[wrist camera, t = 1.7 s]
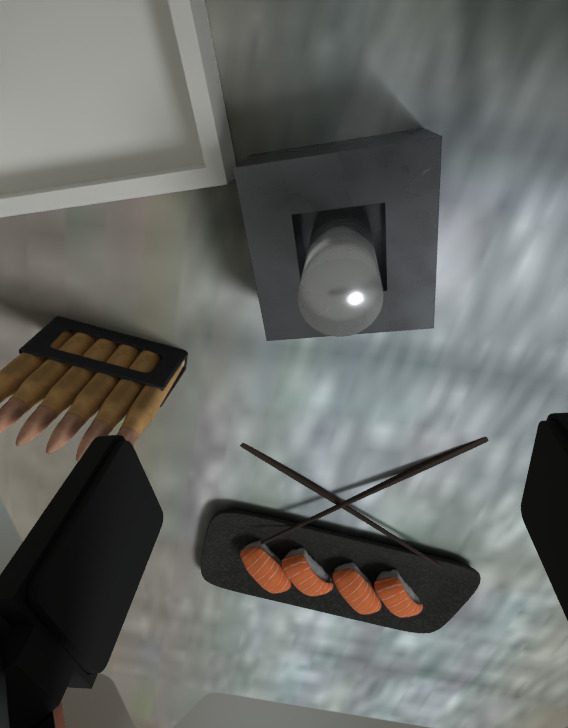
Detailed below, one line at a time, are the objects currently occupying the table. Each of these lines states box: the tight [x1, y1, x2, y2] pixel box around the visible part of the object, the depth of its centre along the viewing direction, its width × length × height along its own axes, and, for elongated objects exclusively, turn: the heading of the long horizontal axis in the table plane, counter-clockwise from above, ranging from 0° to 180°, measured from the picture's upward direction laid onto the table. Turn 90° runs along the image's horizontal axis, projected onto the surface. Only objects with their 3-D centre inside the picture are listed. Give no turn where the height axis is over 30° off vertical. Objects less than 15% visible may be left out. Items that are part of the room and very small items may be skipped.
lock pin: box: [298, 206, 383, 336], centre depth 22 cm, size 4×4×10 cm
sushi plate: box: [201, 437, 489, 633], centre depth 42 cm, size 29×30×4 cm
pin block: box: [233, 128, 442, 341], centre depth 25 cm, size 10×10×5 cm
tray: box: [0, 0, 236, 217], centre depth 22 cm, size 18×18×3 cm
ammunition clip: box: [0, 316, 188, 461], centre depth 29 cm, size 11×2×12 cm, turn 76°
